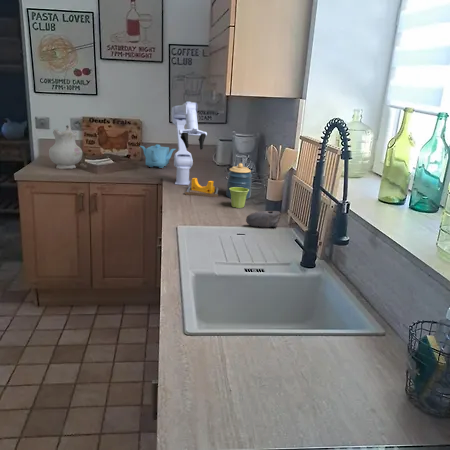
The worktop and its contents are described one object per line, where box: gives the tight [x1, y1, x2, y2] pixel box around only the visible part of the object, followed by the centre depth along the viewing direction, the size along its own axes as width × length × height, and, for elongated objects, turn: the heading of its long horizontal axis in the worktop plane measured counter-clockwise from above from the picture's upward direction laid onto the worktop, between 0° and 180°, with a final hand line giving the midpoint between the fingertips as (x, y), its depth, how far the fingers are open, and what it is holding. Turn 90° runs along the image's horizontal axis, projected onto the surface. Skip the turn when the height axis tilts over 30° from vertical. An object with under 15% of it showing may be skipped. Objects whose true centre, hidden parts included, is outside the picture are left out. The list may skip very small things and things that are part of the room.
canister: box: [225, 162, 253, 200], centre depth 242 cm, size 13×13×18 cm
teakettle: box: [139, 144, 177, 169], centre depth 304 cm, size 19×19×15 cm
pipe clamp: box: [190, 177, 216, 194], centre depth 250 cm, size 12×4×6 cm, turn 63°
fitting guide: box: [184, 184, 219, 198], centre depth 248 cm, size 16×17×2 cm
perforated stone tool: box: [245, 210, 282, 228], centre depth 197 cm, size 15×5×7 cm, turn 94°
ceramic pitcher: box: [48, 124, 83, 170], centre depth 285 cm, size 22×20×25 cm
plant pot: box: [229, 187, 249, 209], centre depth 224 cm, size 9×9×9 cm
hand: (194, 148), depth 235 cm, fingers open, 7 cm apart
